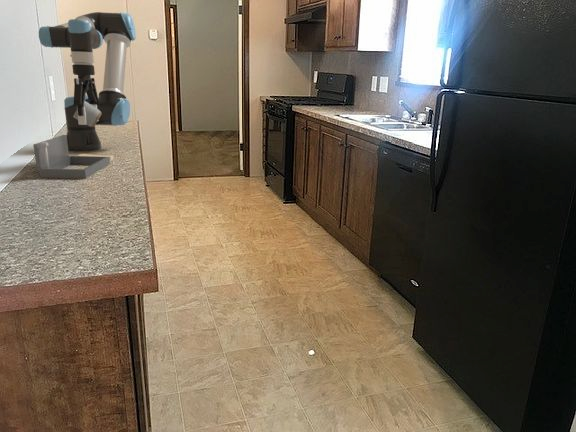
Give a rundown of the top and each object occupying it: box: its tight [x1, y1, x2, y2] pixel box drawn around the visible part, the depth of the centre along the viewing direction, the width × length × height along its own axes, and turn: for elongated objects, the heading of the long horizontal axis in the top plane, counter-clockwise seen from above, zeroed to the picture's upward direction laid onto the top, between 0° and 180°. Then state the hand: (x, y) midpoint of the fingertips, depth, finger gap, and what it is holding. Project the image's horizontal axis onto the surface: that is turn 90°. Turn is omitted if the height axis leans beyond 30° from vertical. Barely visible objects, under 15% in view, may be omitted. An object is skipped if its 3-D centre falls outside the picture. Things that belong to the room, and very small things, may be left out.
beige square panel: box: [76, 153, 117, 161], centre depth 187 cm, size 14×14×1 cm
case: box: [32, 134, 111, 180], centre depth 166 cm, size 24×16×11 cm, turn 1°
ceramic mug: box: [73, 101, 102, 127], centre depth 181 cm, size 11×8×8 cm
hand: (88, 122), depth 182 cm, fingers closed on ceramic mug, 12 cm apart
